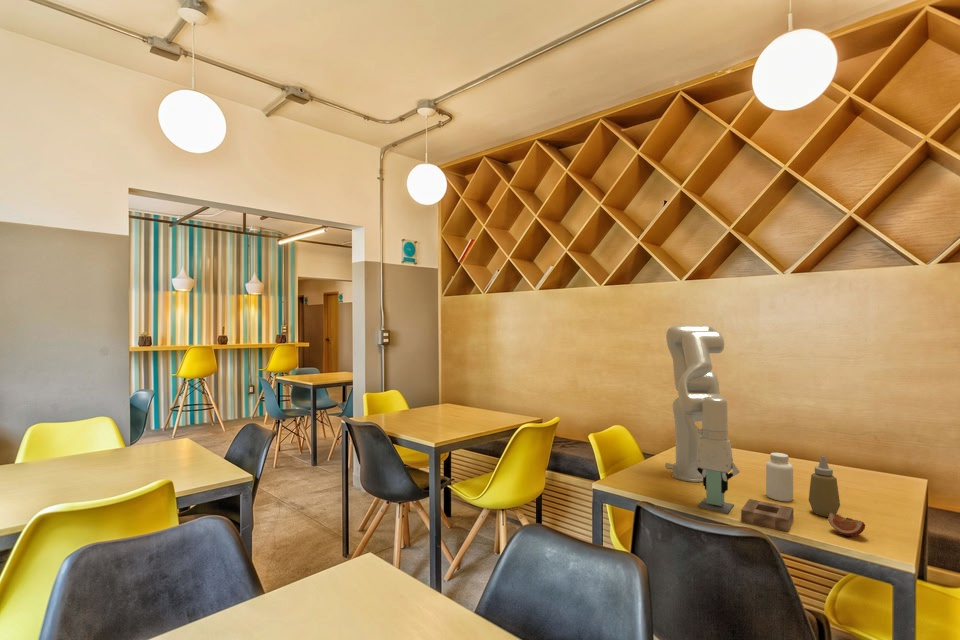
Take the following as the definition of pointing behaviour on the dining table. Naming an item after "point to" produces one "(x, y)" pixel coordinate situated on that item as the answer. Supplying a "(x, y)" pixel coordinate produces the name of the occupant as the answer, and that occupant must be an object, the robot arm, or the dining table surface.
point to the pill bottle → (779, 478)
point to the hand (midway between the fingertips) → (715, 489)
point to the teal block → (714, 488)
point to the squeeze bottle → (824, 490)
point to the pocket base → (767, 515)
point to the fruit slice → (846, 525)
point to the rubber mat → (716, 506)
